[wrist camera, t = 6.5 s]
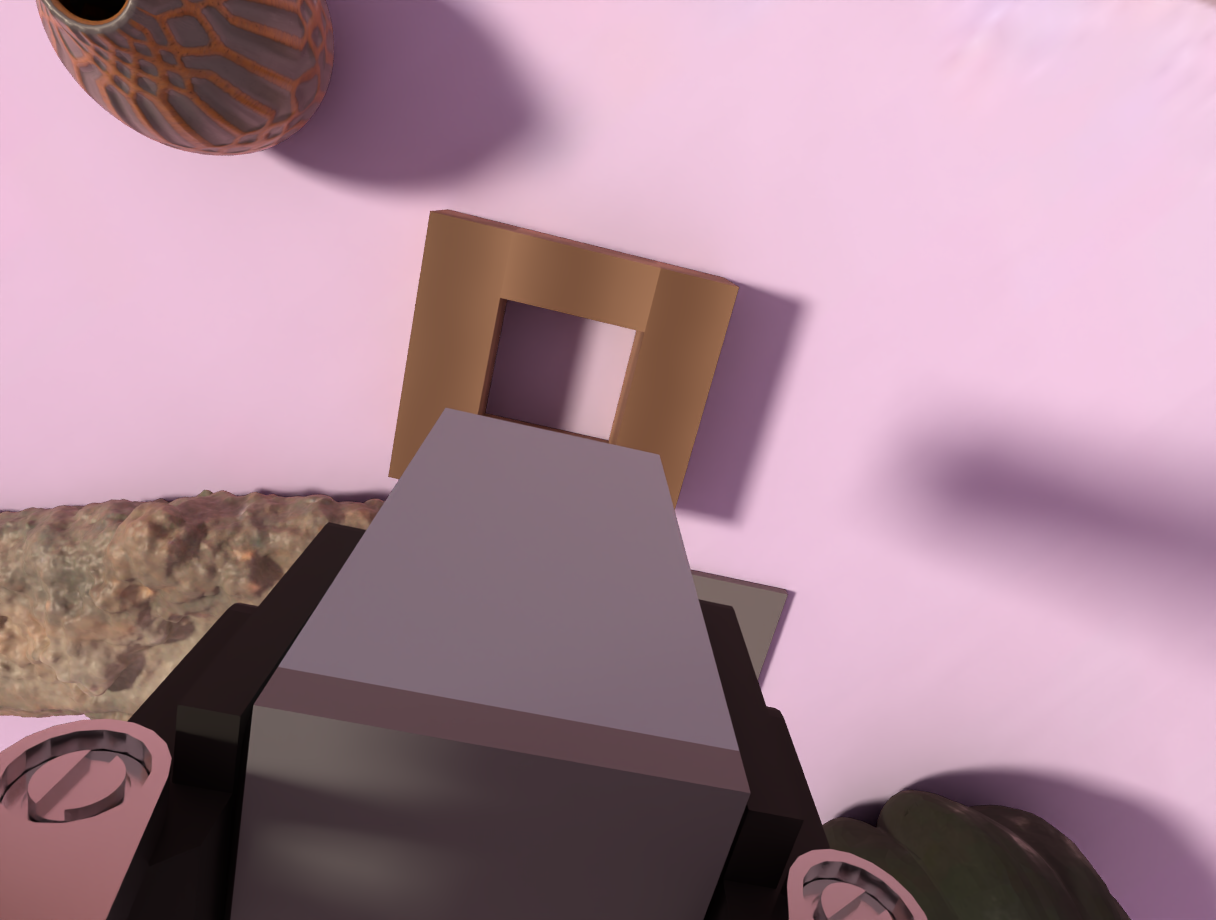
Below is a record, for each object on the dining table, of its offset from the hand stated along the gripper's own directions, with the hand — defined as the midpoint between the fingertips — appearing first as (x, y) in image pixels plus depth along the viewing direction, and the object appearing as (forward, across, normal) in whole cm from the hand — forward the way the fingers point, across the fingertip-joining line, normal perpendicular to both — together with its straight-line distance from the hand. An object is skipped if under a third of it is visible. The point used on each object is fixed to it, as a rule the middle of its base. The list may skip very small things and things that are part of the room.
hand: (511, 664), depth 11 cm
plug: (+4, 0, 0) cm, 4 cm away
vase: (+19, +12, -8) cm, 24 cm away
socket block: (+19, 0, 0) cm, 19 cm away
